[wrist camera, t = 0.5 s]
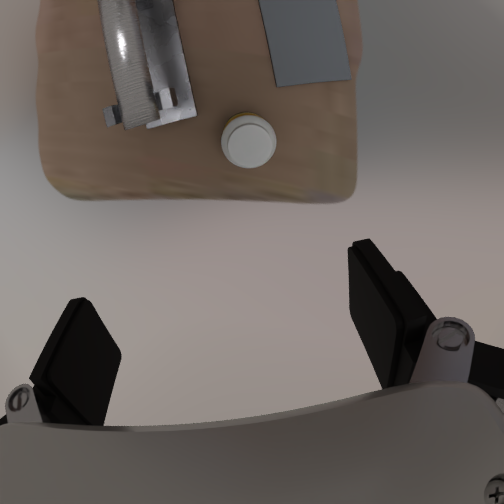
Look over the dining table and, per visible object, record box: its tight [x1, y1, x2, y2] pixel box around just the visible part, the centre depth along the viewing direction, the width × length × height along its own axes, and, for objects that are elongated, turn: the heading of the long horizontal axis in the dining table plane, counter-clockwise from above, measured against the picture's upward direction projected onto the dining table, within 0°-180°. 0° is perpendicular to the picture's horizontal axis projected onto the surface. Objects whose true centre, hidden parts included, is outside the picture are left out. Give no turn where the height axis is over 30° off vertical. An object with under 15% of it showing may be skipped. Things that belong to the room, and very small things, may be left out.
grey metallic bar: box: [98, 0, 161, 130], centre depth 19 cm, size 16×3×3 cm, turn 11°
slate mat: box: [258, 0, 351, 87], centre depth 27 cm, size 20×9×1 cm, turn 11°
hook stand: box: [103, 0, 197, 129], centre depth 24 cm, size 18×6×13 cm, turn 11°
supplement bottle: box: [221, 112, 276, 168], centre depth 31 cm, size 5×5×10 cm
